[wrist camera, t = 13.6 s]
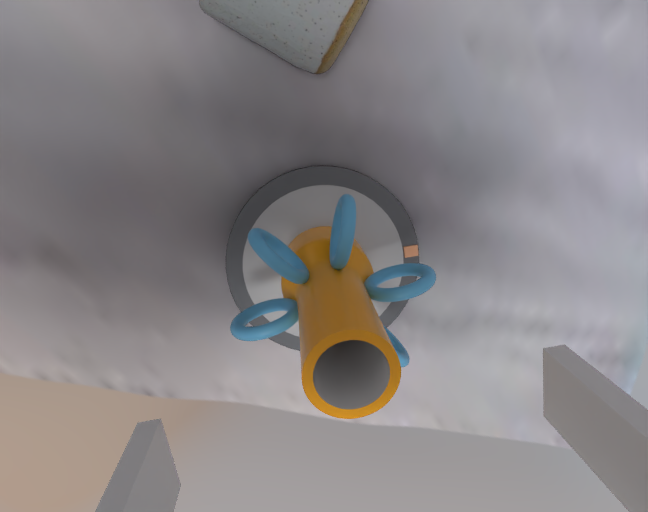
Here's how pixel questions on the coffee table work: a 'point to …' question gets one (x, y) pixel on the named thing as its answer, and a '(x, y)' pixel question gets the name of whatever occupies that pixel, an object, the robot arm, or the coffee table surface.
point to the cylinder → (335, 313)
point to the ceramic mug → (292, 26)
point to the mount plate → (313, 211)
